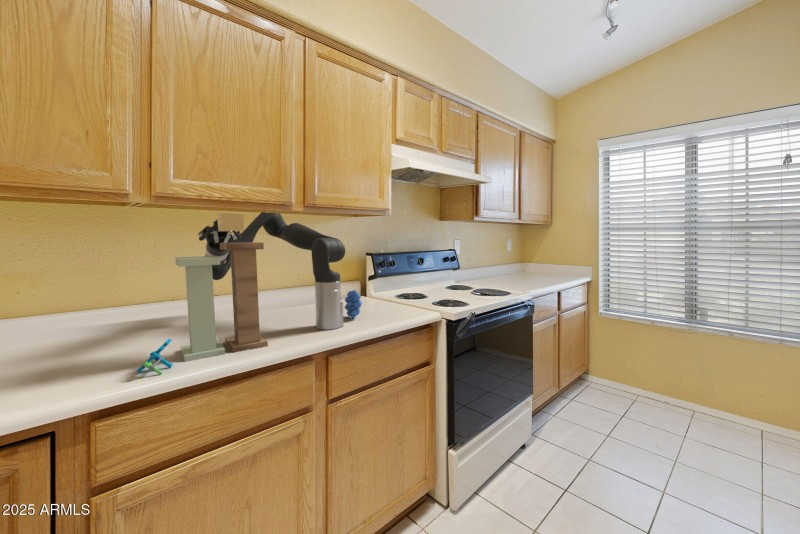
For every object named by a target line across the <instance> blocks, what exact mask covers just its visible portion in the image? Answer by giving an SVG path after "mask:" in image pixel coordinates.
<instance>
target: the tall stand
mask: <svg viewBox="0 0 800 534" xmlns="http://www.w3.org/2000/svg"><path fill="white" fill-rule="evenodd" d="M264 246H265V245H264V242H254V241H253V242H248V243H220V249H222V250H230V253H231V268H230V270H231V272H230V273H231V289H232V290H231V291H232V292H231V294H232V307H233V308H232V309H233V311H232V312H233V327H234V336H231V337H225V338H224V342H225V345H226V346H227V347H228V348H229V350H230V351H231V353H238V351H239V352H243V350H244V351H248V350H247V349H249V350H254V349H253V348H255V349H259V348H258V347H260V348H264V347H263V346H266V347H268V346H269V343H268V340H267V339H266V338H264V337H263V336H262V335H261V334H260V312H259V309H260V308H259V290H258V289H259V287H258V270H257V269H258V267H257V266H258V264H257V250H264Z"/></svg>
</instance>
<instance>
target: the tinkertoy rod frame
mask: <svg viewBox="0 0 800 534" xmlns="http://www.w3.org/2000/svg"><path fill="white" fill-rule="evenodd" d="M171 342H172V339H171V338H168V339H167V340H166V341H165V342H164V343H163V344H162V345H160V347H159V348H158V349H156V350H154V351H151V352H150V353H149V357H148V359H147V360H146V361H145V362H144V363H143V364H142V365H141V366H140V367H139V368H138V369H137V370H136V372H137V373H138V374H141V372H143V371H144V369H145V368H147V370H148V371H149V372H150V371H154V372H156V373H157V374H159V375H162V374H163V371H161V370H160V369H159V368H157V367H156V366H157V365H158V364H159V362H160V363H162V364H163V365H165V367H167V368H168V369H171V368H172V367H173V364H172V363H171V362H169V361H168V360H166V359H165V358H164V356H163V355H161V352H162V351H163V350H164V349H165V348H166V347H167V346H168V345H169V344H170V343H171ZM153 361H155V363H152V362H153Z"/></svg>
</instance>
